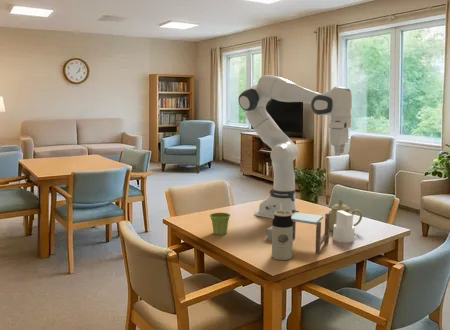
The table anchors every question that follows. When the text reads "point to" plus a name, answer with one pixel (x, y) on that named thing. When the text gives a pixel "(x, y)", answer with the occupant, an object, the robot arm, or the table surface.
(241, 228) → the table surface
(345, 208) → the olive teapot
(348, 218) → the base with upright slab
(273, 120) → the robot arm
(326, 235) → the frame
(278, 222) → the travel mug
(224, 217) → the plant pot
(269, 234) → the stone
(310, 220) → the trapdoor
